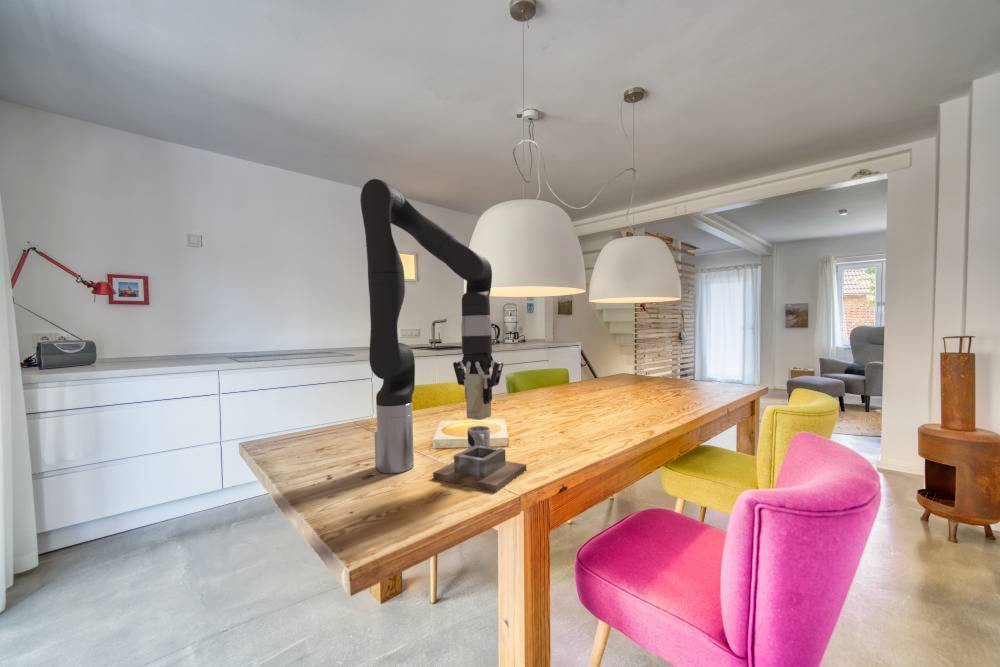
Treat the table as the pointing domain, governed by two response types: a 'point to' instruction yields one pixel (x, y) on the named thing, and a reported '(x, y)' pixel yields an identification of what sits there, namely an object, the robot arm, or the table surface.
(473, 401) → the box
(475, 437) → the mug
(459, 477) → the socket
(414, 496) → the table surface
